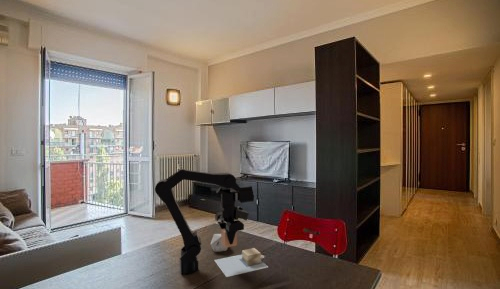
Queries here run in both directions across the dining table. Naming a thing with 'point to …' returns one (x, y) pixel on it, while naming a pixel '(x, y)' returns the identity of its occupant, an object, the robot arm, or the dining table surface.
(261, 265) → the blueprint board
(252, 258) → the birch base block
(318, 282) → the dining table surface
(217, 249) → the die
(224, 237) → the terracotta block
